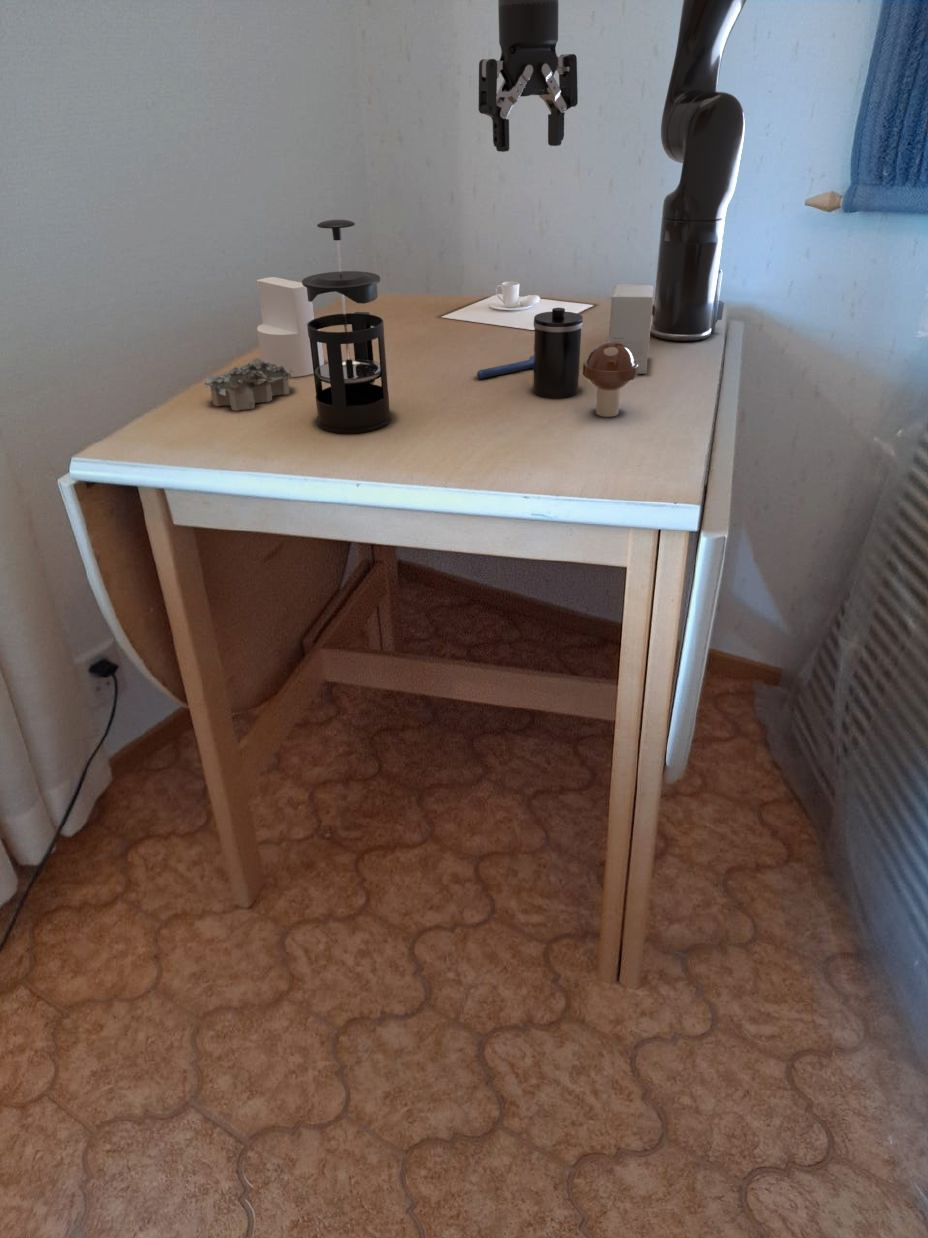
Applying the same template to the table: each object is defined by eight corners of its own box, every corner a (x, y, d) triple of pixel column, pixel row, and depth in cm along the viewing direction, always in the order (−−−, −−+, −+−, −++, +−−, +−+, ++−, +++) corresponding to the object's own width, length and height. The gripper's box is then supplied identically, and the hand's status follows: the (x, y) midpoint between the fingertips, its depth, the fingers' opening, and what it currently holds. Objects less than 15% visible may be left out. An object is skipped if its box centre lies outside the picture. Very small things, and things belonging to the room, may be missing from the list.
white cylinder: (250, 369, 127) (237, 283, 121) (299, 355, 133) (289, 272, 126) (288, 381, 122) (276, 292, 116) (337, 366, 128) (328, 280, 121)
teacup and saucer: (544, 305, 156) (545, 281, 154) (523, 314, 151) (523, 290, 148) (502, 300, 160) (502, 276, 158) (480, 309, 155) (480, 285, 152)
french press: (376, 438, 103) (359, 228, 90) (303, 433, 105) (276, 227, 92) (405, 405, 112) (393, 212, 100) (337, 401, 114) (317, 211, 102)
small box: (646, 375, 121) (653, 297, 115) (605, 373, 122) (611, 295, 116) (647, 358, 127) (654, 283, 122) (609, 357, 128) (614, 283, 123)
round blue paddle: (547, 358, 129) (547, 350, 128) (565, 365, 125) (565, 357, 125) (469, 375, 123) (469, 367, 122) (486, 383, 119) (486, 374, 119)
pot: (560, 380, 120) (563, 300, 114) (588, 392, 115) (593, 310, 109) (522, 389, 117) (524, 307, 111) (550, 401, 112) (553, 317, 107)
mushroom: (610, 400, 112) (615, 332, 108) (644, 415, 108) (651, 343, 103) (570, 410, 109) (573, 340, 105) (603, 426, 105) (608, 353, 100)
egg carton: (241, 414, 111) (235, 383, 109) (202, 403, 115) (196, 373, 113) (300, 391, 118) (296, 361, 116) (262, 381, 122) (257, 352, 120)
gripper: (496, 0, 102) (500, 155, 111) (592, -3, 108) (588, 144, 117) (464, 4, 107) (469, 151, 116) (556, 1, 113) (555, 142, 122)
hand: (529, 148), depth 117 cm, fingers open, 8 cm apart
